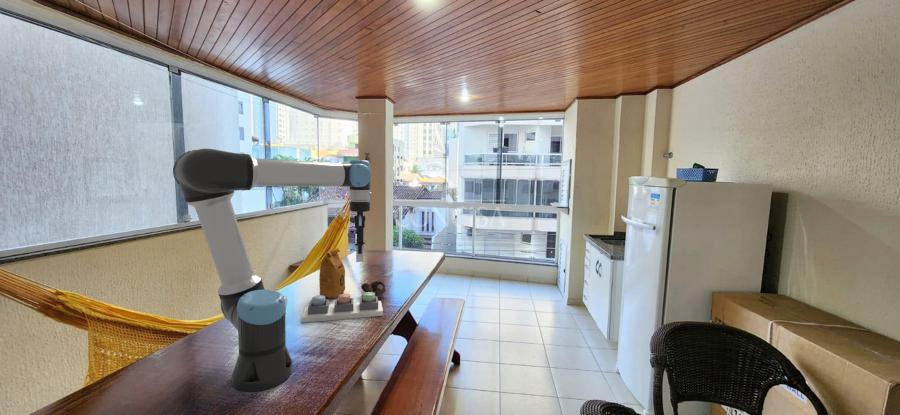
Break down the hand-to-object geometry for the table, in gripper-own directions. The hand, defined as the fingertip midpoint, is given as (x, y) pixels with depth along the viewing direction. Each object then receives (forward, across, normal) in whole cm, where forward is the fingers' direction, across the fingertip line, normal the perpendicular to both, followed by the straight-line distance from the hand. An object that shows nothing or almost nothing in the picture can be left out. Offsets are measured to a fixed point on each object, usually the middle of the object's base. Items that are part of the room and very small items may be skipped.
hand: (359, 261), depth 132 cm
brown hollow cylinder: (+25, +30, -7) cm, 39 cm away
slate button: (+20, +10, +16) cm, 28 cm away
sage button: (+20, +10, -4) cm, 23 cm away
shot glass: (+25, +14, +32) cm, 43 cm away
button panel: (+24, +10, +6) cm, 27 cm away
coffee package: (+25, +34, +12) cm, 44 cm away
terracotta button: (+20, +10, +6) cm, 23 cm away
